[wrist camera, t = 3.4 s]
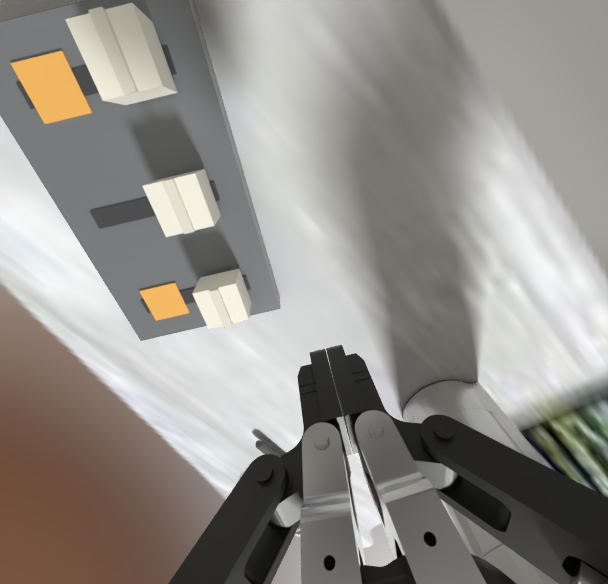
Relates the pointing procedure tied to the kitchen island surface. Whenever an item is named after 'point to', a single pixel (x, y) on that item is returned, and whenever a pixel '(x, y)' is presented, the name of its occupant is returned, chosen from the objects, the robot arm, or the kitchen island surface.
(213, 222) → the tab middle
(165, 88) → the tab front
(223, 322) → the tab back
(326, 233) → the kitchen island surface
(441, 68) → the kitchen island surface
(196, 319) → the switch panel
